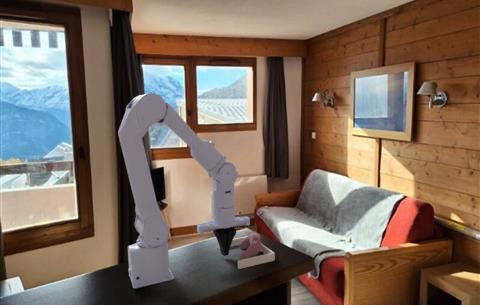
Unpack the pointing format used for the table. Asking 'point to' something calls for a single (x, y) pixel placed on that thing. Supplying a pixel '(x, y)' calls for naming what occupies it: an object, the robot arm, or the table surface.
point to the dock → (253, 260)
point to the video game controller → (251, 246)
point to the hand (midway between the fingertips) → (224, 254)
